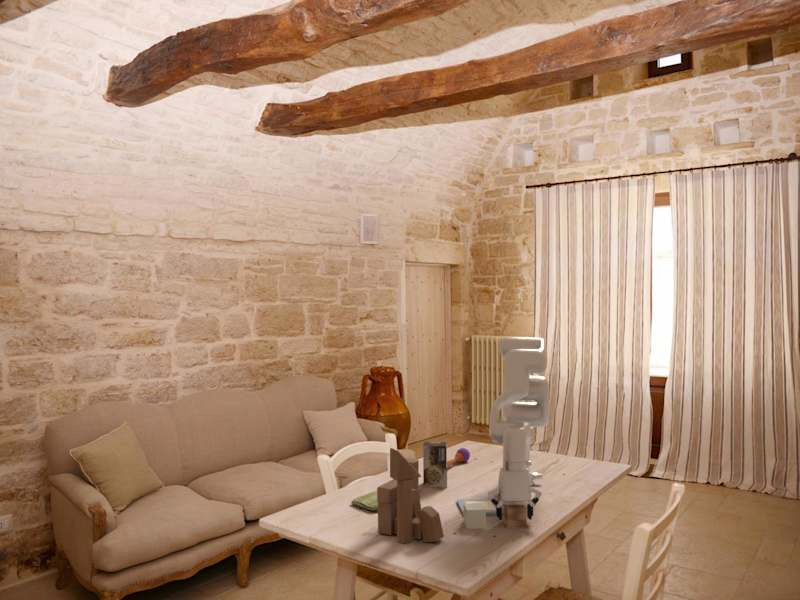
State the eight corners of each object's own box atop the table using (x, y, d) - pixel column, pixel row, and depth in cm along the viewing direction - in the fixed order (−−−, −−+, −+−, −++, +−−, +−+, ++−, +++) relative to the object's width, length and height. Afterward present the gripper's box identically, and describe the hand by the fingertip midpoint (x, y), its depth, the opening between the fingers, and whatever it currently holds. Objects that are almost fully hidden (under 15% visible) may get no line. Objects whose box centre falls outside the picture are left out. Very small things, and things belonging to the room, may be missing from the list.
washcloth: (349, 505, 222) (349, 496, 222) (385, 494, 234) (385, 485, 234) (375, 515, 213) (375, 505, 213) (411, 502, 225) (411, 493, 225)
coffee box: (447, 483, 247) (447, 441, 247) (446, 488, 240) (447, 445, 240) (423, 482, 248) (423, 441, 248) (422, 487, 241) (422, 445, 241)
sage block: (481, 521, 206) (481, 503, 206) (485, 528, 200) (485, 509, 200) (463, 522, 206) (463, 503, 205) (466, 529, 200) (466, 510, 199)
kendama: (436, 460, 266) (459, 446, 282) (438, 474, 266) (461, 460, 282) (448, 459, 262) (470, 446, 279) (451, 474, 262) (473, 459, 279)
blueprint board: (495, 501, 226) (495, 498, 226) (505, 515, 212) (505, 512, 212) (456, 502, 225) (456, 499, 225) (463, 516, 211) (463, 513, 211)
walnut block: (521, 520, 207) (521, 502, 207) (526, 527, 201) (526, 508, 201) (503, 521, 207) (503, 502, 206) (507, 528, 201) (507, 509, 200)
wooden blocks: (427, 553, 181) (427, 455, 180) (368, 539, 191) (368, 446, 190) (462, 526, 202) (462, 438, 202) (407, 515, 212) (407, 431, 211)
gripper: (538, 461, 208) (537, 513, 208) (485, 462, 207) (485, 515, 207) (544, 467, 200) (544, 522, 201) (490, 468, 199) (490, 523, 199)
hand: (514, 518), depth 204 cm, fingers open, 9 cm apart
